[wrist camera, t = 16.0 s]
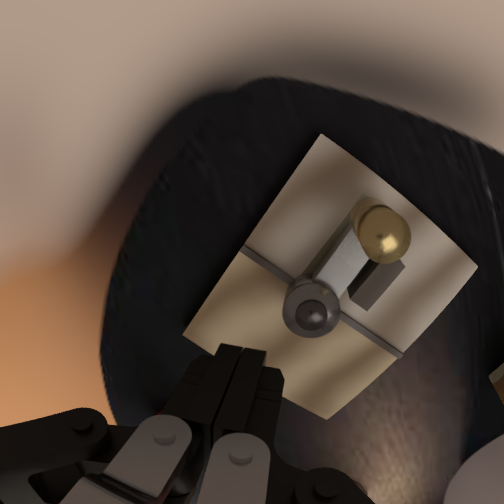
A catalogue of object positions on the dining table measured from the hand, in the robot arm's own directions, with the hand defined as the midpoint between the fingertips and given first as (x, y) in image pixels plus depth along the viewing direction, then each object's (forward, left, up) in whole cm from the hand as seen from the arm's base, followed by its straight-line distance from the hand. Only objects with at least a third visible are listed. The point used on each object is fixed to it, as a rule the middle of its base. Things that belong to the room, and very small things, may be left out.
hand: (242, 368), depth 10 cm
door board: (-7, +3, -18) cm, 19 cm away
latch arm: (-5, -1, -16) cm, 17 cm away
